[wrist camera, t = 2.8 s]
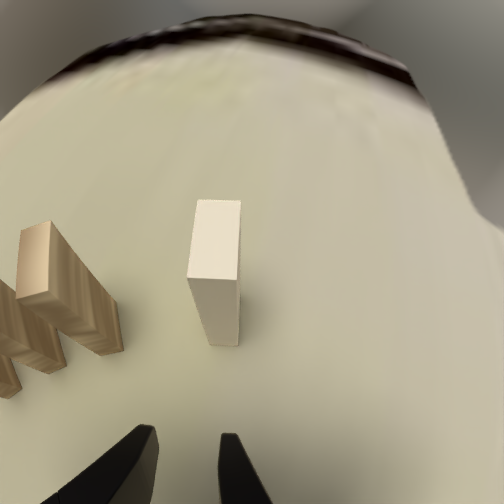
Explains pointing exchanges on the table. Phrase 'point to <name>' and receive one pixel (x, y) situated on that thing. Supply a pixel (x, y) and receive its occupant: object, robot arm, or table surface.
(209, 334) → the cream domino
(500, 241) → the table surface
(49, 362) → the maple domino
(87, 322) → the maple domino
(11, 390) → the maple domino
